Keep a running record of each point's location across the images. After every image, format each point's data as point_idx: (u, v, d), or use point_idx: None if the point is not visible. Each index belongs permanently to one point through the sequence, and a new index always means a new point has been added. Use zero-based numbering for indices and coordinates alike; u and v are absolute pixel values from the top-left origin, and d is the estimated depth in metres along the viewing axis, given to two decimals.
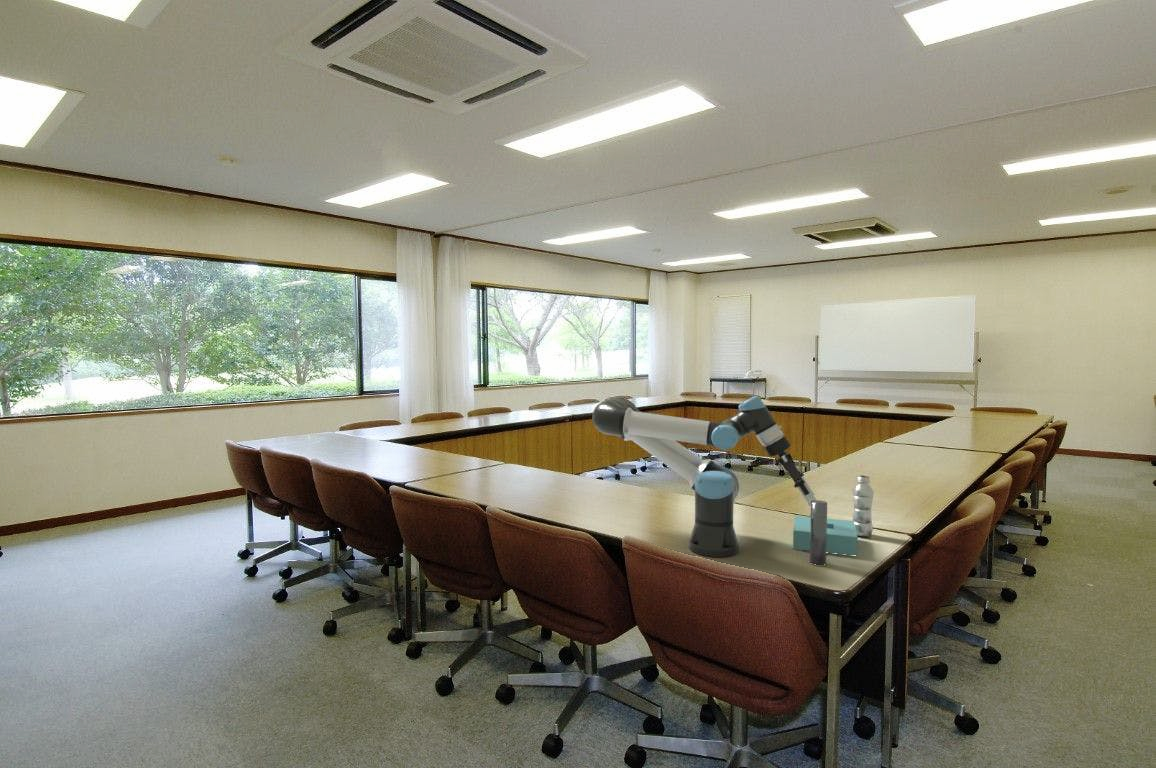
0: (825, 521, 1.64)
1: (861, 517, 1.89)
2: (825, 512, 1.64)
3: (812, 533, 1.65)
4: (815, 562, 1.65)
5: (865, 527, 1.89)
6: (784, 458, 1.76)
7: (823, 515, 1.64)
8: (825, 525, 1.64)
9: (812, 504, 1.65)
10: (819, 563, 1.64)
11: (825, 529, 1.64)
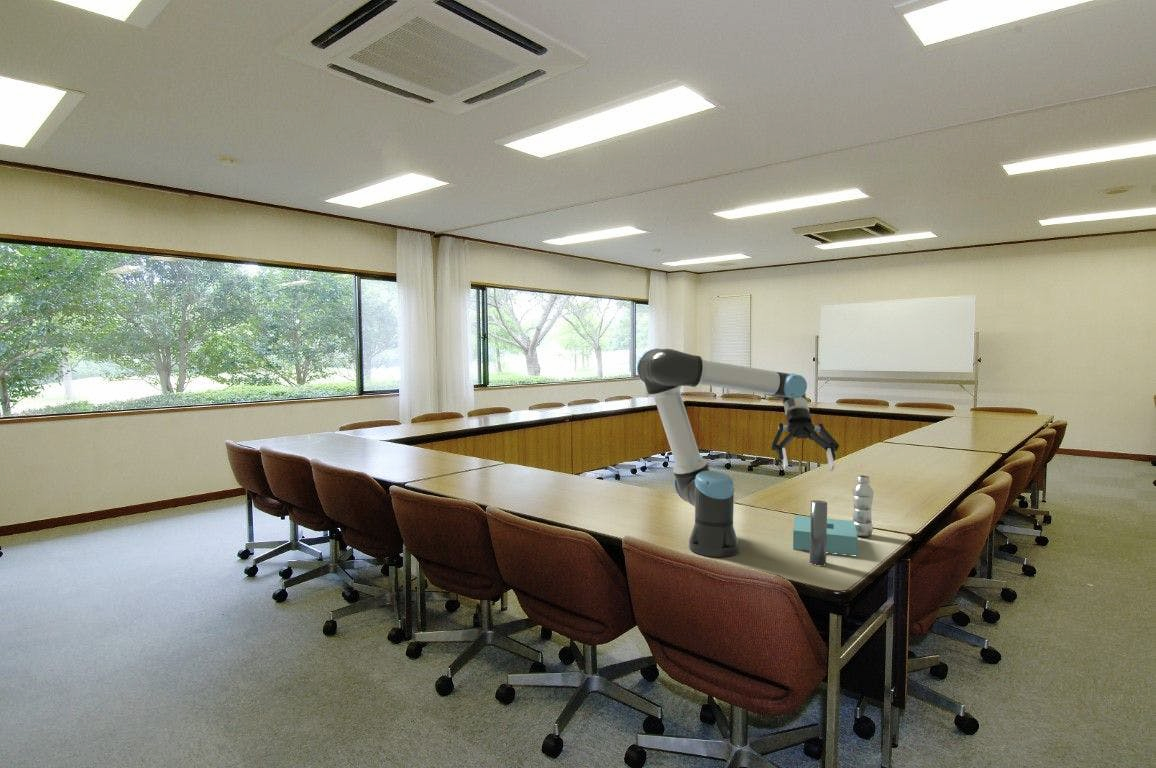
0: (825, 521, 1.64)
1: (861, 517, 1.89)
2: (825, 512, 1.64)
3: (812, 533, 1.65)
4: (815, 562, 1.65)
5: (865, 527, 1.89)
6: None
7: (823, 515, 1.64)
8: (825, 525, 1.64)
9: (812, 504, 1.65)
10: (819, 563, 1.64)
11: (825, 529, 1.64)
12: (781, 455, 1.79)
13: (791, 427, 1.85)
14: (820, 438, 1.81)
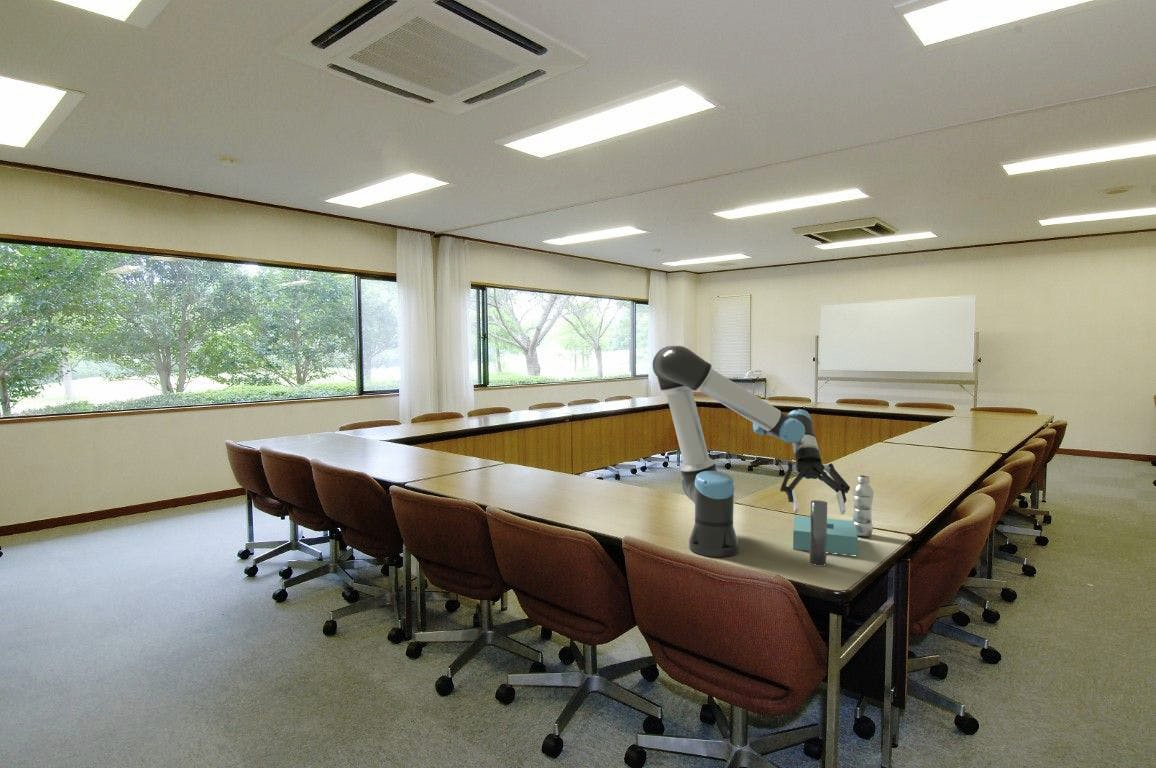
0: (825, 521, 1.64)
1: (861, 517, 1.89)
2: (825, 512, 1.64)
3: (812, 533, 1.65)
4: (815, 562, 1.65)
5: (865, 527, 1.89)
6: None
7: (823, 515, 1.64)
8: (825, 525, 1.64)
9: (812, 504, 1.65)
10: (819, 563, 1.64)
11: (825, 529, 1.64)
12: (791, 498, 1.74)
13: (800, 467, 1.81)
14: (830, 479, 1.77)
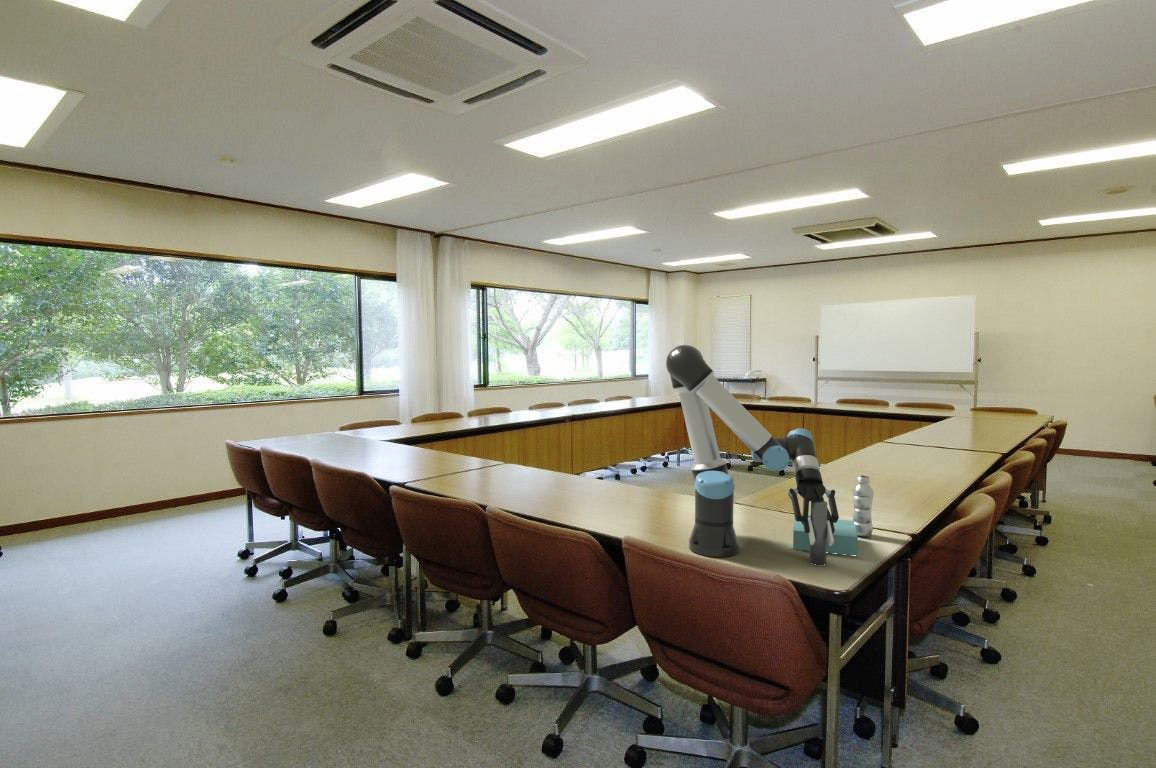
0: (825, 521, 1.64)
1: (861, 517, 1.89)
2: (825, 512, 1.64)
3: None
4: (815, 562, 1.65)
5: (865, 527, 1.89)
6: None
7: (823, 515, 1.64)
8: (825, 525, 1.64)
9: (812, 504, 1.65)
10: (819, 563, 1.64)
11: (825, 529, 1.64)
12: (807, 528, 1.65)
13: (802, 489, 1.73)
14: None
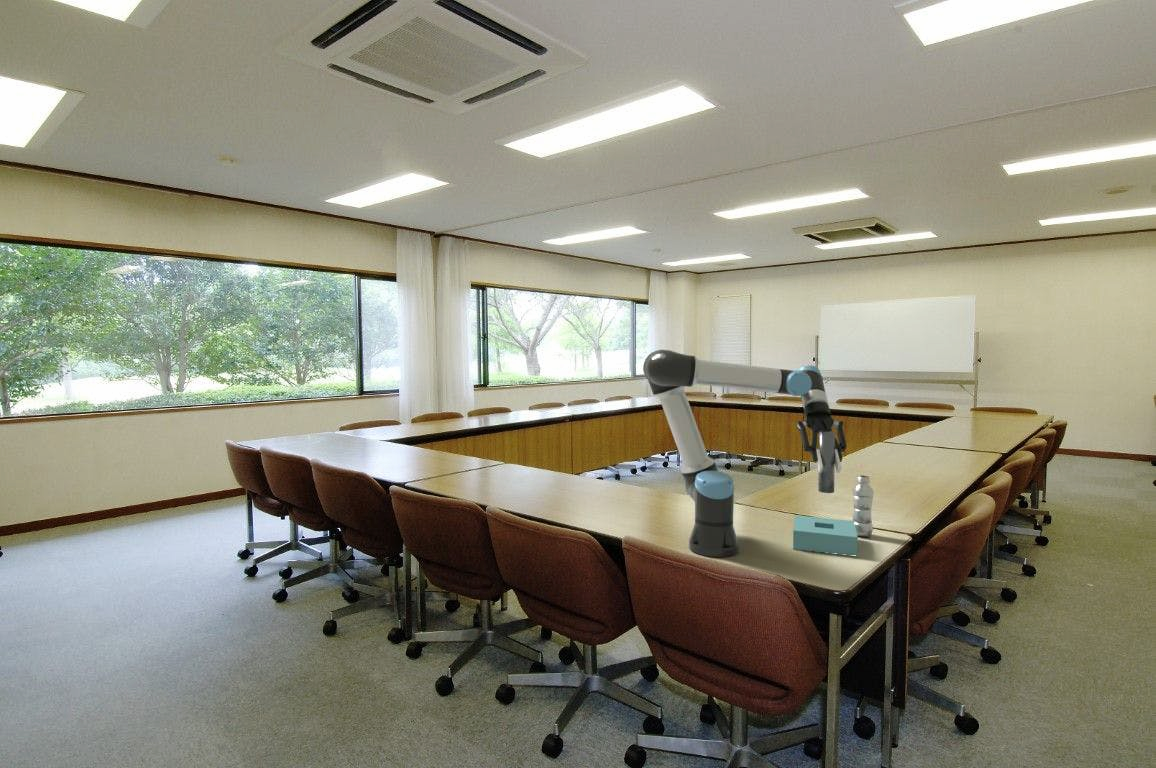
0: (833, 449, 1.69)
1: (861, 517, 1.89)
2: (833, 441, 1.69)
3: None
4: (823, 489, 1.70)
5: (865, 527, 1.89)
6: None
7: (831, 443, 1.69)
8: (833, 453, 1.69)
9: (820, 433, 1.70)
10: (827, 490, 1.70)
11: (833, 457, 1.69)
12: (815, 457, 1.70)
13: (810, 421, 1.78)
14: None
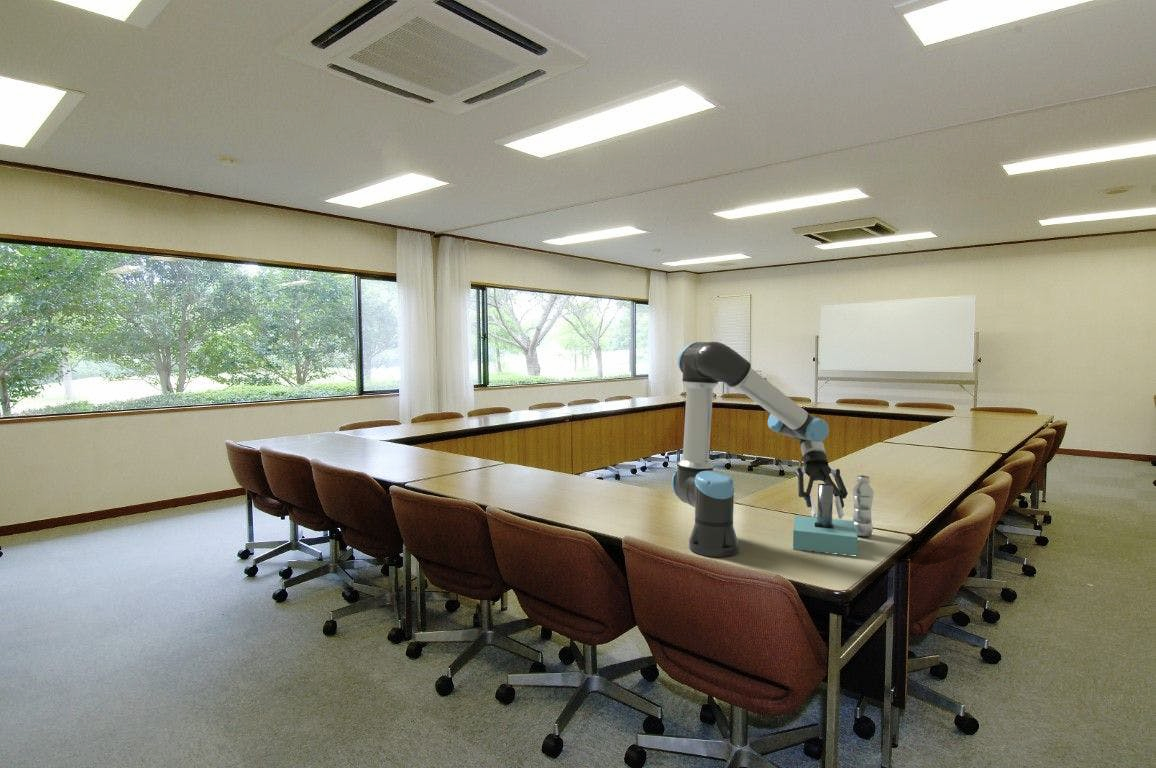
0: (831, 502, 1.81)
1: (861, 517, 1.89)
2: (831, 494, 1.81)
3: (819, 513, 1.82)
4: None
5: (865, 527, 1.89)
6: None
7: (830, 496, 1.81)
8: (831, 506, 1.81)
9: (819, 487, 1.82)
10: None
11: (831, 509, 1.81)
12: (809, 503, 1.82)
13: (809, 469, 1.90)
14: (832, 484, 1.86)
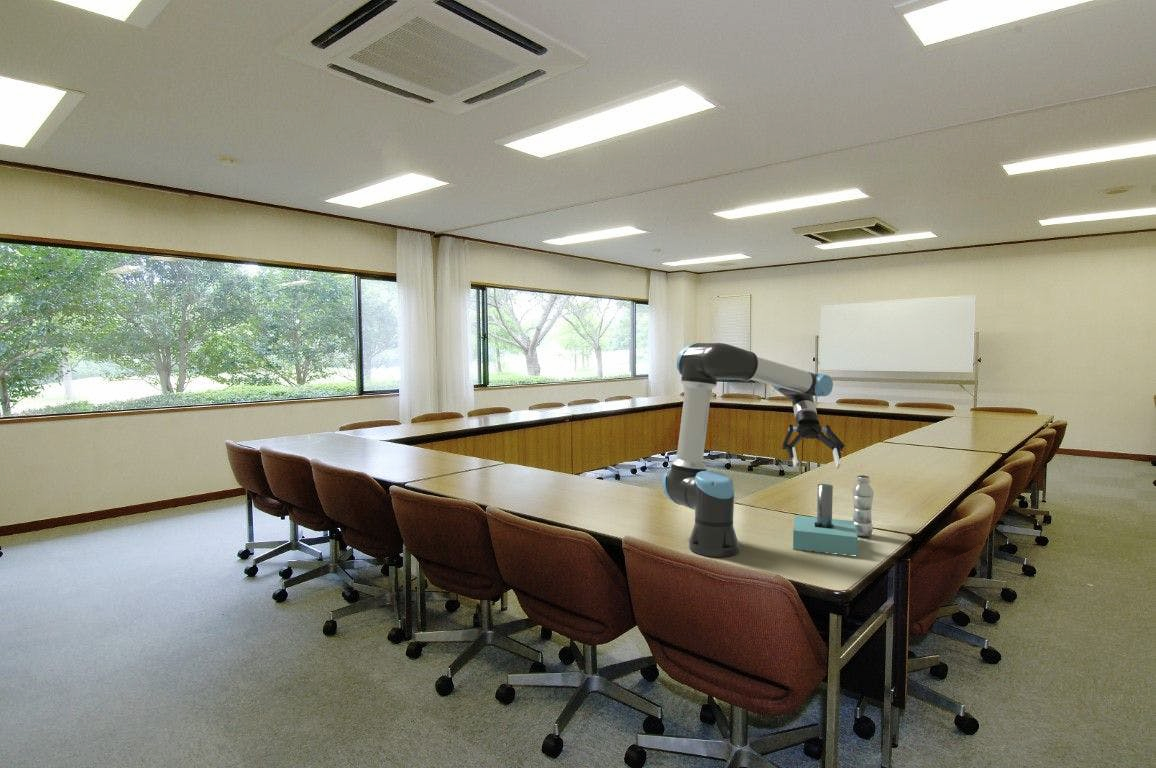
0: (831, 502, 1.81)
1: (861, 517, 1.89)
2: (831, 494, 1.81)
3: (819, 513, 1.82)
4: None
5: (865, 527, 1.89)
6: None
7: (829, 497, 1.81)
8: (831, 506, 1.81)
9: (819, 487, 1.82)
10: None
11: (831, 509, 1.81)
12: (791, 454, 1.95)
13: (800, 428, 2.01)
14: (827, 438, 1.97)
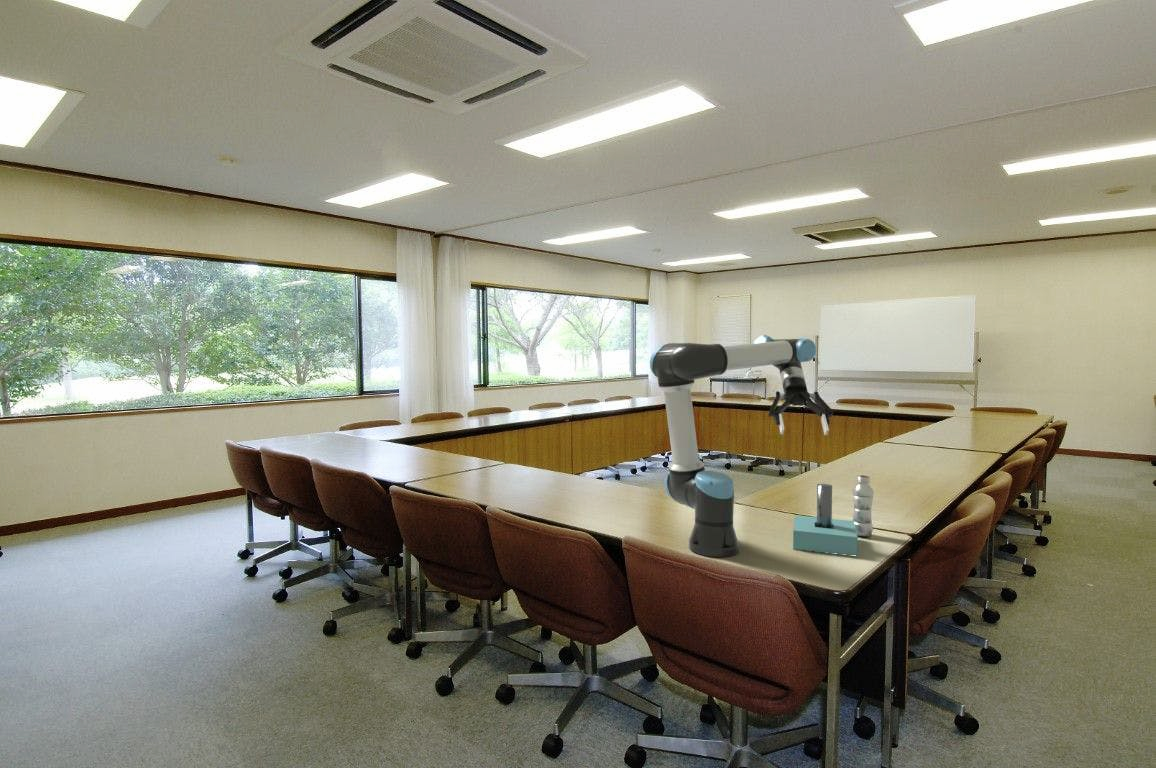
0: (830, 502, 1.81)
1: (861, 517, 1.89)
2: (830, 494, 1.81)
3: (818, 513, 1.82)
4: None
5: (865, 527, 1.89)
6: None
7: (829, 497, 1.81)
8: (830, 506, 1.81)
9: (818, 487, 1.82)
10: None
11: (830, 509, 1.81)
12: (778, 420, 1.87)
13: (787, 395, 1.93)
14: (815, 405, 1.89)
